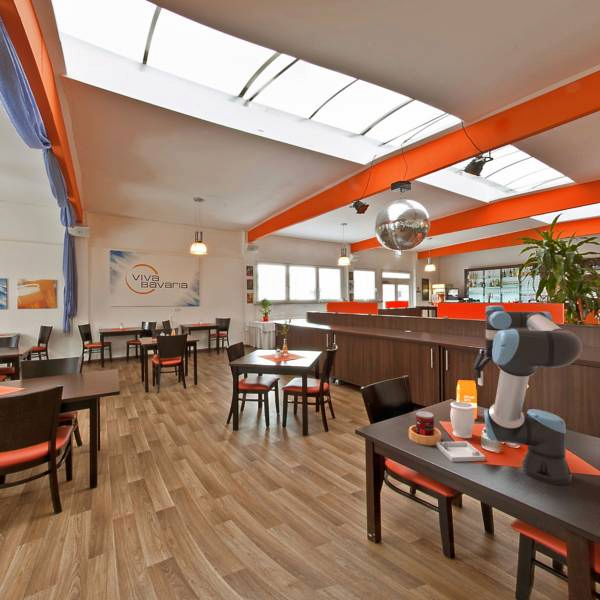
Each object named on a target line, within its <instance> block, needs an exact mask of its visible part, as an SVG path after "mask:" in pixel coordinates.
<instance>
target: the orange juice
mask: <svg viewBox="0 0 600 600" xmlns="http://www.w3.org/2000/svg"><path fill="white" fill-rule="evenodd" d="M477 397H478V391H477V385H476V381H475V380H467V379H465V380H462V379H458V381H457V385H456V402H466V403H470V404H473V405H474V406H475V408H474V409H473V411H474V416H475V420H476V419H477V417H478V412H477V411H478V409H477V408H478V404H477V403H478V400H477V399H478V398H477Z"/></svg>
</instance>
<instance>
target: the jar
mask: <svg viewBox="0 0 600 600" xmlns="http://www.w3.org/2000/svg"><path fill="white" fill-rule="evenodd" d="M450 406H451V408H450V422H451V427H452V430H453V431H452V435H453V436H455V437H458V438H461V439H471V438H472V437H473V434H472V432H473V430H474V426H475V421H476V419H475V416H474V411H473V409H474V408H475V406H474V405H473V404H470V403H466V402H457V401H452V402H450Z"/></svg>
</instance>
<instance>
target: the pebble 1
mask: <svg viewBox="0 0 600 600" xmlns="http://www.w3.org/2000/svg"><path fill="white" fill-rule="evenodd" d="M441 442H442V443H441V446H442V447H443V448H444V449H447V448H448V444H447V442H448V441H441Z"/></svg>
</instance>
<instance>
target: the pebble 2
mask: <svg viewBox="0 0 600 600" xmlns="http://www.w3.org/2000/svg"><path fill="white" fill-rule="evenodd" d="M478 451H479V450H478ZM478 451H476V450H474V451H472V456H480V453H481V452H480V451H479V452H480V453H479V452H478Z"/></svg>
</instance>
